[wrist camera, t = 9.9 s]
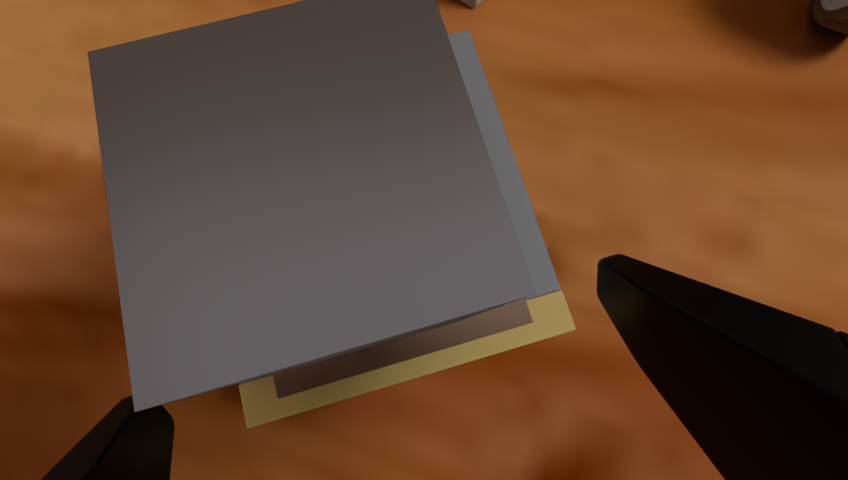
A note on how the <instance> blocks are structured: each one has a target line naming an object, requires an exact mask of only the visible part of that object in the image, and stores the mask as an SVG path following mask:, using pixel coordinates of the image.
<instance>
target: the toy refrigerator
mask: <svg viewBox="0 0 848 480" xmlns="http://www.w3.org/2000/svg"><path fill="white" fill-rule="evenodd" d="M460 1H461V2H463V3H465V4H466V5H468V6H469V7H471V8H475V7H476V6H478V5H479V4H480V2H481V1H482V0H460Z"/></svg>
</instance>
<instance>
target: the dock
mask: <svg viewBox="0 0 848 480" xmlns="http://www.w3.org/2000/svg"><path fill="white" fill-rule="evenodd" d="M448 38H449V41H450V44H451V47H452V49H453V52H454V55H455V58H456V61H457V64H458V67H459V70H460V73H461V76H462V78H463V81H464V84H465V87H466V90H467V93H468V96H469V99H470V102H471V104H472V107H473V110H474V113H475V116H476V119H477V122H478V125H479V128H480V131H481V133H482V136H483V139H484V142H485V145H486V148H487V151H488V154H489V157H490V160H491V162H492V165H493V168H494V171H495V174H496V177H497V180H498V183H499V186H500V188H501V191H502V194H503V197H504V200H505V203H506V206H507V209H508V212H509V215H510V217H511V220H512V223H513V226H514V229H515V232H516V235H517V238H518V241H519V244H520V246H521V249H522V252H523V255H524V258H525V261H526V264H527V267H528V270H529V272H530V275H531V278H532V281H533V284H534V287H535V290H536V293H537V294H535V295H532V296H529V297H526V298H525V299H526V302H527V305H528V308H529V311H530V314H531V317H532V320H533V323H530V324H526V325H523V326H520V327H516V328H513V329H510V330H506V331H503V332H500V333H496V334H493V335H490V336H486V337H483V338H480V339H476V340H473V341H470V342H466V343H463V344H460V345H456V346H453V347H450V348H446V349H443V350H439V351H436V352H433V353H429V354H426V355H423V356H419V357H416V358H413V359H409V360H406V361H403V362H399V363H396V364H393V365H389V366H386V367H383V368H379V369H376V370H373V371H369V372H366V373H363V374H359V375H356V376H352V377H349V378H346V379H342V380H339V381H336V382H332V383H329V384H326V385H322V386H319V387H316V388H312V389H309V390H306V391H302V392H299V393H296V394H292V395H289V396H286V397H282V398H279V399H278V398H277V393H276V388H275V383H274V378H273V375H269V376H265V377H262V378H258V379H254V380H251V381H247V382H243V383H240V385H239V391H240V396H241V401H242V407H243V412H244V417H245V423H246V428H247V429H249V428H252V427H255V426H259V425H262V424H265V423H268V422H272V421H275V420H278V419H282V418H285V417H288V416H292V415H295V414H298V413H302V412H305V411H308V410H311V409H315V408H318V407H321V406H325V405H328V404H331V403H335V402H338V401H341V400H345V399H348V398H351V397H354V396H358V395H361V394H364V393H368V392H371V391H374V390H378V389H381V388H384V387H388V386H391V385H394V384H397V383H401V382H404V381H407V380H411V379H414V378H417V377H421V376H424V375H427V374H431V373H434V372H437V371H440V370H444V369H447V368H450V367H454V366H457V365H460V364H464V363H467V362H470V361H474V360H477V359H480V358H483V357H487V356H490V355H493V354H497V353H500V352H503V351H507V350H510V349H513V348H517V347H520V346H523V345H526V344H530V343H533V342H536V341H540V340H543V339H546V338H550V337H553V336H556V335H560V334H563V333H566V332H569V331H573V330H576V328H575V325H574V322H573V319H572V317H571V314H570V311H569V308H568V305H567V302H566V300H565V297H564V294H563V291H562V290H561V288H560V285H559V282H558V280H557V277H556V274H555V271H554V268H553V266H552V263H551V260H550V257H549V254H548V251H547V249H546V246H545V243H544V240H543V237H542V235H541V232H540V229H539V226H538V223H537V220H536V218H535V215H534V212H533V209H532V206H531V204H530V201H529V198H528V195H527V192H526V189H525V187H524V184H523V181H522V178H521V175H520V173H519V170H518V167H517V164H516V161H515V158H514V156H513V153H512V150H511V147H510V144H509V142H508V139H507V136H506V133H505V130H504V127H503V125H502V122H501V119H500V116H499V113H498V110H497V108H496V105H495V102H494V99H493V96H492V94H491V91H490V88H489V85H488V82H487V79H486V77H485V74H484V71H483V68H482V65H481V63H480V60H479V57H478V54H477V51H476V48H475V46H474V43H473V40H472V37H471V34H470V32H469V30H464V31H460V32H456V33H452V34H448Z"/></svg>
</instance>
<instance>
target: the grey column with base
mask: <svg viewBox="0 0 848 480" xmlns="http://www.w3.org/2000/svg"><path fill="white" fill-rule="evenodd" d="M88 58H89V66H90V74H91V81H92V89H93V97H94V104H95V112H96V120H97V127H98V135H99V143H100V151H101V158H102V166H103V174H104V181H105V189H106V197H107V204H108V212H109V220H110V227H111V235H112V243H113V251H114V258H115V266H116V274H117V281H118V289H119V297H120V304H121V312H122V320H123V327H124V335H125V343H126V350H127V358H128V366H129V374H130V381H131V389H132V397H133V404H134V412H137V411H141V410H144V409H148V408H152V407H155V406H159V405H163V404H166V403H170V402H174V401H177V400H181V399H185V398H188V397H192V396H196V395H199V394H203V393H207V392H210V391H214V390H218V389H221V388H225V387H229V386H232V385H236V384H240V383H243V382H247V381H251V380H254V379H258V378H262V377H265V376H269V375H273V378H274V383H275V388H276V393H277V398H278V399H279V398H282V397H286V396H289V395H292V394H296V393H299V392H302V391H306V390H309V389H312V388H316V387H319V386H322V385H326V384H329V383H332V382H336V381H339V380H342V379H346V378H349V377H352V376H356V375H359V374H363V373H366V372H369V371H373V370H376V369H379V368H383V367H386V366H389V365H393V364H396V363H399V362H403V361H406V360H409V359H413V358H416V357H419V356H423V355H426V354H429V353H433V352H436V351H439V350H443V349H446V348H450V347H453V346H456V345H460V344H463V343H466V342H470V341H473V340H476V339H480V338H483V337H486V336H490V335H493V334H496V333H500V332H503V331H506V330H510V329H513V328H516V327H520V326H523V325H526V324H530V323H533V320H532V317H531V314H530V311H529V308H528V305H527V302H526V299H525V298H526V297H529V296H532V295H535V294H537V293H536V290H535V287H534V284H533V281H532V278H531V275H530V272H529V270H528V267H527V264H526V261H525V258H524V255H523V252H522V249H521V246H520V244H519V241H518V238H517V235H516V232H515V229H514V226H513V223H512V220H511V217H510V215H509V212H508V209H507V206H506V203H505V200H504V197H503V194H502V191H501V188H500V186H499V183H498V180H497V177H496V174H495V171H494V168H493V165H492V162H491V160H490V157H489V154H488V151H487V148H486V145H485V142H484V139H483V136H482V133H481V131H480V128H479V125H478V122H477V119H476V116H475V113H474V110H473V107H472V104H471V102H470V99H469V96H468V93H467V90H466V87H465V84H464V81H463V78H462V76H461V73H460V70H459V67H458V64H457V61H456V58H455V55H454V52H453V49H452V47H451V44H450V41H449V38H448V35H447V32H446V29H445V26H444V23H443V21H442V18H441V15H440V12H439V9H438V6H437V3H436V0H305V1H301V2H296V3H292V4H288V5H284V6H280V7H275V8H271V9H267V10H263V11H258V12H254V13H250V14H246V15H242V16H237V17H233V18H229V19H225V20H220V21H216V22H212V23H208V24H204V25H199V26H195V27H191V28H187V29H183V30H178V31H174V32H170V33H166V34H161V35H157V36H153V37H149V38H145V39H140V40H136V41H132V42H128V43H124V44H119V45H115V46H111V47H107V48H102V49H98V50H94V51H90V52H88Z"/></svg>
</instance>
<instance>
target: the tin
mask: <svg viewBox="0 0 848 480" xmlns="http://www.w3.org/2000/svg"><path fill="white" fill-rule="evenodd" d="M812 13H813V17H814V20H815V21H816V22H817V23H818V24H820V25H821V26H824V27H826V28H829V29H832V30H835V31H838V32H841V33H845V34H848V0H814V1H813V7H812Z"/></svg>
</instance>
